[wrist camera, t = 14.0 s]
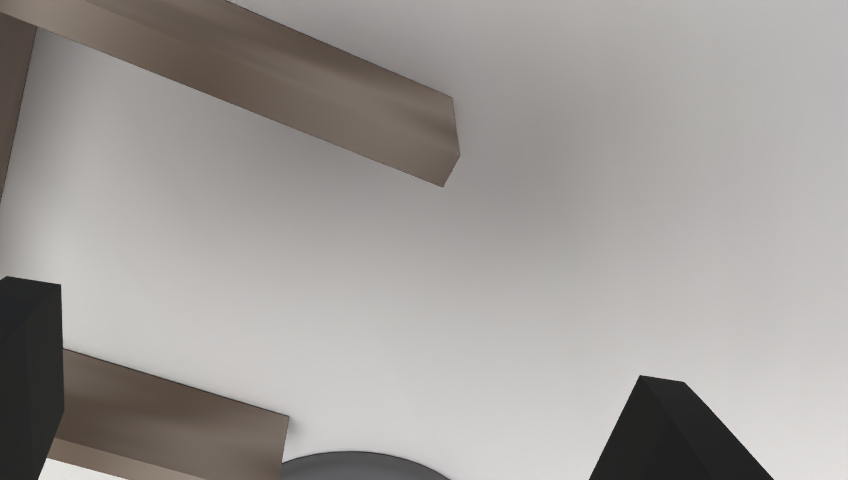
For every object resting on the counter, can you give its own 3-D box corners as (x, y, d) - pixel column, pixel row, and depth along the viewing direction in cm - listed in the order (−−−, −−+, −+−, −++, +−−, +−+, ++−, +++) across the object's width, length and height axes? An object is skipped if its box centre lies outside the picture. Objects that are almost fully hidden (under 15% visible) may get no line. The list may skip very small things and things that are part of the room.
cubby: (451, 97, 18) (471, 234, 13) (280, 434, 24) (248, 619, 19) (6, -94, 16) (-176, -15, 11) (-67, 332, 22) (-210, 512, 17)
